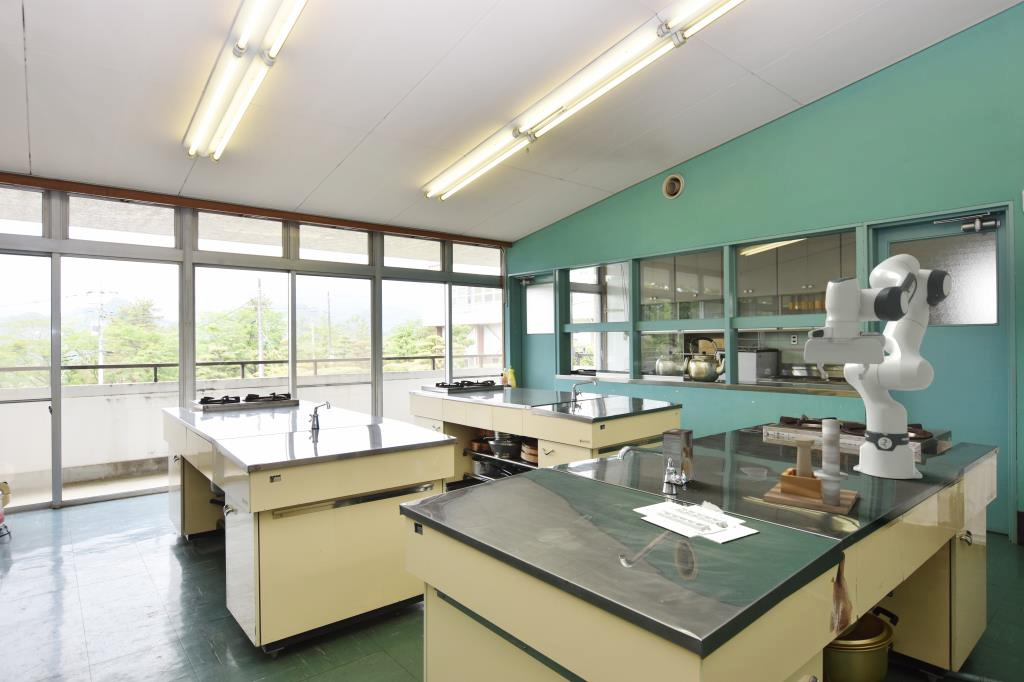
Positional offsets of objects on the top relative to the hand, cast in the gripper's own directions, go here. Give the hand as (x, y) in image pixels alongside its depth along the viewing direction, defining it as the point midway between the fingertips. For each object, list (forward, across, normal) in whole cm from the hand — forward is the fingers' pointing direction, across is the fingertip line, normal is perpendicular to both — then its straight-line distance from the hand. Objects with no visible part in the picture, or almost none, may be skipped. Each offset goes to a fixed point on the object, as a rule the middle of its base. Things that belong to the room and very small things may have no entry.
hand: (842, 379), depth 160 cm
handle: (+32, +8, +12) cm, 35 cm away
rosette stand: (+33, +6, +14) cm, 36 cm away
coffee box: (+33, +43, +18) cm, 57 cm away
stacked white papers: (+34, +26, +52) cm, 67 cm away
